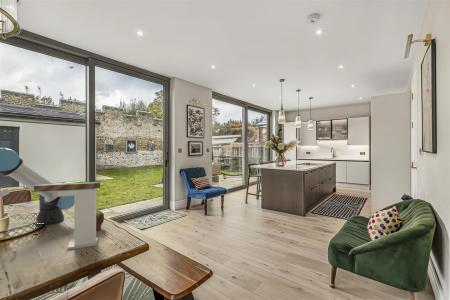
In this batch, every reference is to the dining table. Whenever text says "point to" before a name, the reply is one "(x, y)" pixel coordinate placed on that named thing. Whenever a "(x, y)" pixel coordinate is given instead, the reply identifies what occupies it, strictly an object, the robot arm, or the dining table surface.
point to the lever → (66, 186)
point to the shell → (99, 219)
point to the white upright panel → (83, 217)
